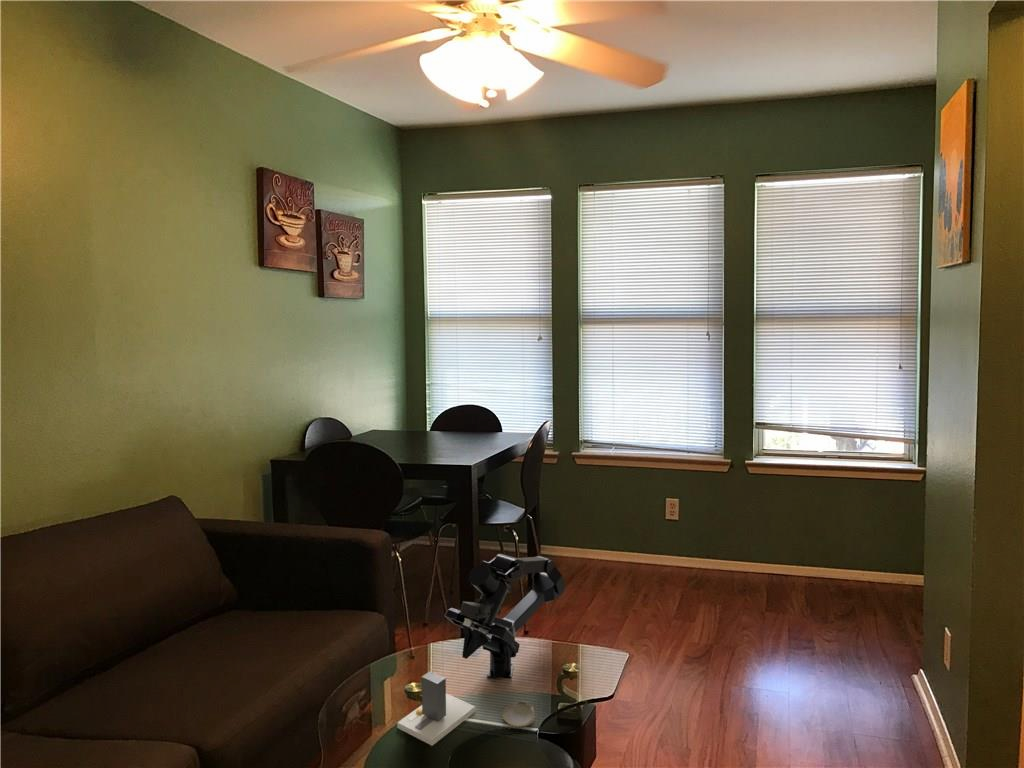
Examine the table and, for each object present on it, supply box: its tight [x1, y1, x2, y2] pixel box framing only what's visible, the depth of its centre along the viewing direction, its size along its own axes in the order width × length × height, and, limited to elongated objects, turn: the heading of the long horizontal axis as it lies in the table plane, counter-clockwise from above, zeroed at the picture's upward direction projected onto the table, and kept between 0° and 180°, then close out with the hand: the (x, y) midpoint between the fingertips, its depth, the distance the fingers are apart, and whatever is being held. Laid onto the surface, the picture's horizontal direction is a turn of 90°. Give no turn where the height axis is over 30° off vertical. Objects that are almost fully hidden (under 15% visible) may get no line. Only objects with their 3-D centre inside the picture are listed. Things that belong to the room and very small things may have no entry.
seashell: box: [501, 700, 536, 728], centre depth 198 cm, size 8×3×8 cm
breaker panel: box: [397, 693, 476, 747], centre depth 197 cm, size 16×11×2 cm
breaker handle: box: [421, 670, 447, 721], centre depth 195 cm, size 3×5×10 cm, turn 54°
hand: (464, 658), depth 203 cm, fingers closed
